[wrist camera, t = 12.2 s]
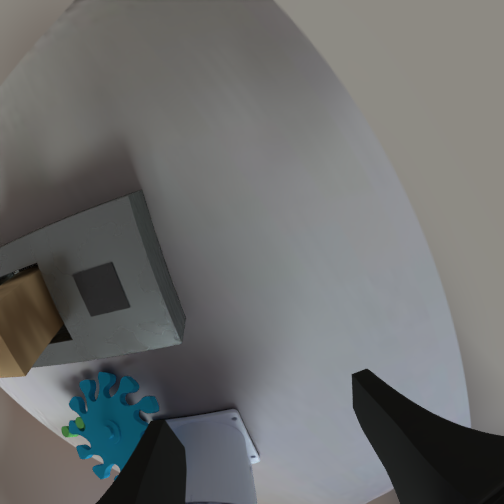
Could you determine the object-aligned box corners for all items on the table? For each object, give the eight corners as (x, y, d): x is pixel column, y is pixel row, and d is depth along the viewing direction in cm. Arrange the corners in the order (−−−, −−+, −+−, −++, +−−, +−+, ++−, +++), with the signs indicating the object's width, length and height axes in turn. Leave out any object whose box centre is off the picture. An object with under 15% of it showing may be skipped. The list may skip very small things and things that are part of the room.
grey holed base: (185, 318, 20) (181, 344, 17) (1, 353, 19) (-14, 371, 16) (142, 189, 17) (127, 196, 14) (-39, 267, 16) (-60, 280, 13)
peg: (75, 308, 19) (25, 376, 11) (40, 317, 18) (-11, 378, 11) (54, 258, 17) (-12, 310, 10) (19, 271, 17) (-44, 321, 10)
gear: (152, 366, 19) (174, 497, 14) (185, 371, 24) (203, 476, 20) (51, 371, 20) (65, 476, 16) (91, 377, 25) (104, 468, 21)
